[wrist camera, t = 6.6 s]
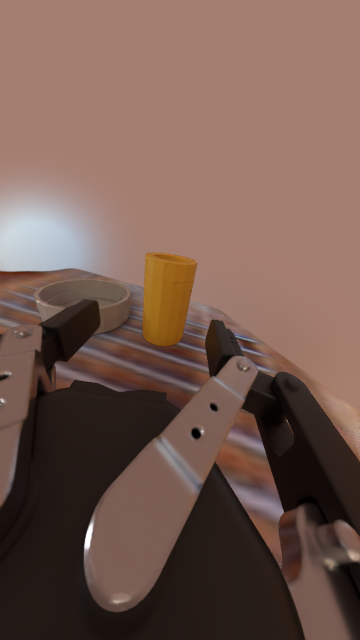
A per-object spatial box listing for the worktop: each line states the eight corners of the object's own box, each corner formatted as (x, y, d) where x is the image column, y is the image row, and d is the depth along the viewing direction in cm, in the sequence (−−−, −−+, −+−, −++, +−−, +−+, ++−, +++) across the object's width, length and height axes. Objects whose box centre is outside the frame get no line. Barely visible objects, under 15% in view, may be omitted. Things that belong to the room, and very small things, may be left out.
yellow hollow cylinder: (147, 349, 20) (152, 261, 15) (139, 324, 25) (141, 250, 19) (188, 343, 22) (206, 265, 17) (174, 321, 27) (184, 255, 22)
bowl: (28, 342, 18) (15, 312, 16) (55, 299, 27) (49, 277, 25) (134, 332, 23) (135, 308, 21) (126, 298, 32) (125, 280, 30)
